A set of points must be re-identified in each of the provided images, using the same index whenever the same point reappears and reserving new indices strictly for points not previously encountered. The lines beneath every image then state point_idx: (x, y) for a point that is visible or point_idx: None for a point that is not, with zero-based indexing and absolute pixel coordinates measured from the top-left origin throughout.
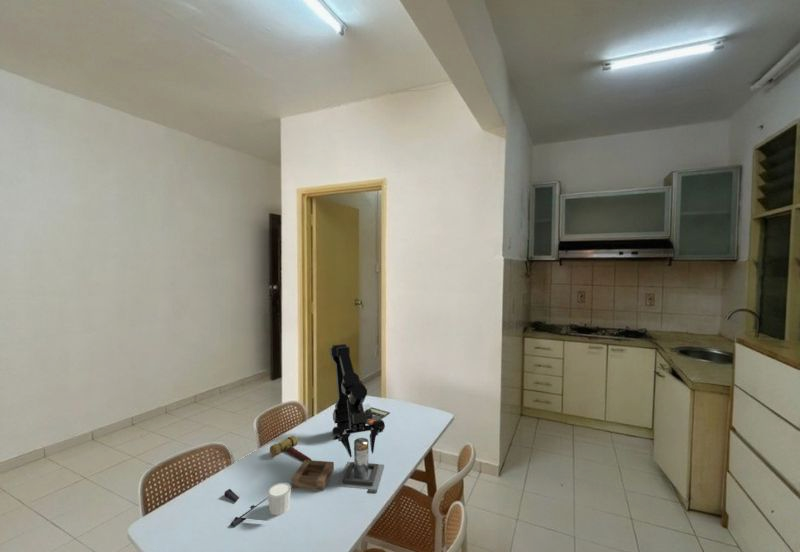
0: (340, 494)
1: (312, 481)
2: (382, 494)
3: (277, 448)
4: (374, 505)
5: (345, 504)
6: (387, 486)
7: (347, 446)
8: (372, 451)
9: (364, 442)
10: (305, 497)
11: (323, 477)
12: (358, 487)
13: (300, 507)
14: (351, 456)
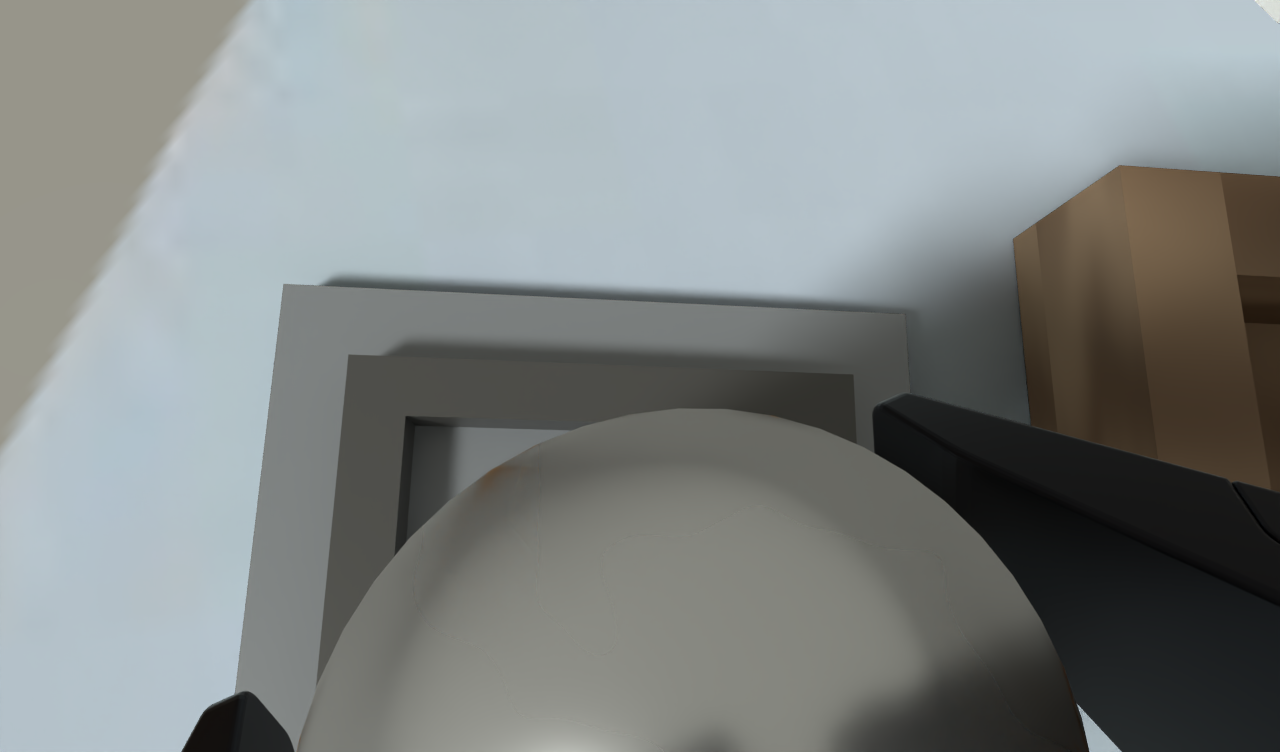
0: (795, 234)
1: (1268, 184)
2: (210, 271)
3: None
4: (308, 70)
5: (679, 73)
6: (136, 450)
7: (1209, 490)
8: (228, 707)
9: (508, 734)
10: (1180, 161)
11: (1161, 259)
12: (576, 314)
13: (1151, 15)
14: (873, 409)
